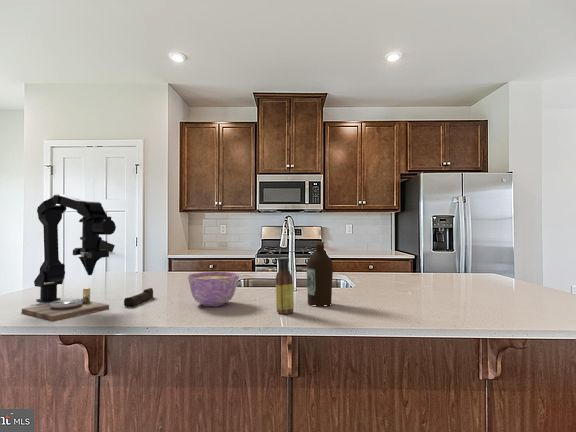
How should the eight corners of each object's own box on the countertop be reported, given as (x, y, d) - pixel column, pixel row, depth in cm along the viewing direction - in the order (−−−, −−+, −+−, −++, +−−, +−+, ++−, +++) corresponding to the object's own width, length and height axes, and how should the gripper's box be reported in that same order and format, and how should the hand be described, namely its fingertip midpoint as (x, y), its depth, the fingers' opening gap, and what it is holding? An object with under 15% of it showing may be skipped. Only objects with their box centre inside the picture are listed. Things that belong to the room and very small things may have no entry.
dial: (62, 310, 126) (62, 295, 126) (43, 307, 130) (44, 293, 130) (98, 302, 139) (98, 289, 139) (80, 299, 143) (80, 287, 143)
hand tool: (132, 308, 138) (133, 295, 139) (123, 307, 139) (123, 295, 139) (158, 298, 157) (159, 287, 157) (150, 297, 158) (150, 287, 158)
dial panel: (21, 312, 129) (21, 308, 129) (77, 302, 146) (78, 298, 146) (52, 320, 119) (52, 315, 119) (109, 308, 136) (109, 304, 136)
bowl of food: (249, 304, 145) (249, 275, 145) (206, 313, 131) (207, 280, 131) (218, 297, 159) (219, 270, 159) (177, 304, 144) (177, 275, 144)
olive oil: (324, 300, 153) (325, 241, 153) (337, 306, 143) (338, 242, 144) (301, 302, 149) (302, 241, 149) (313, 308, 139) (314, 242, 139)
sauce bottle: (295, 311, 134) (296, 257, 134) (290, 315, 128) (290, 258, 128) (279, 310, 136) (279, 256, 136) (272, 313, 130) (273, 258, 130)
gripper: (123, 234, 140) (122, 275, 139) (101, 233, 152) (101, 271, 151) (92, 235, 131) (91, 278, 131) (72, 233, 143) (71, 273, 143)
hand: (90, 275), depth 139 cm, fingers closed
